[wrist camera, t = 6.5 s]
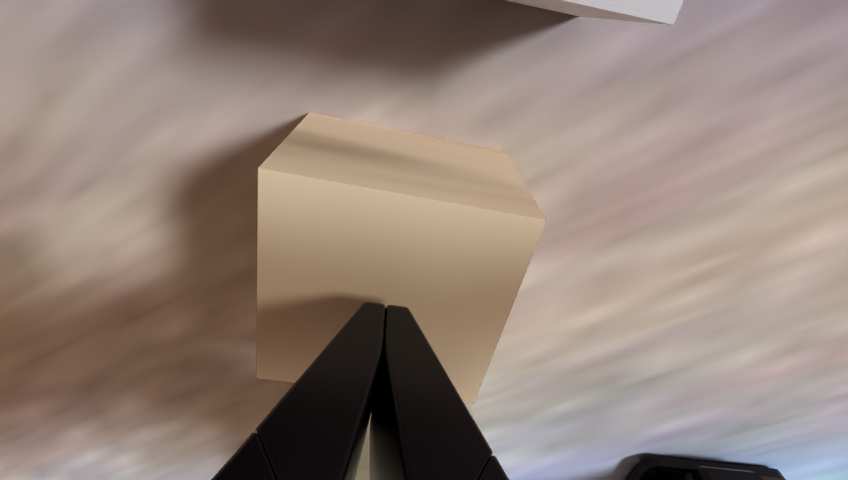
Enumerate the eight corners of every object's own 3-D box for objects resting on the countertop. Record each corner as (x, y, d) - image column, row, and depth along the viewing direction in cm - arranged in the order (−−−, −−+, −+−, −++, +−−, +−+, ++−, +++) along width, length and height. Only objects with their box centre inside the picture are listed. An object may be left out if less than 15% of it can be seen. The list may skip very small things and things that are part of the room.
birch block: (457, 299, 13) (473, 404, 10) (299, 275, 13) (256, 378, 9) (503, 149, 11) (546, 219, 7) (310, 111, 10) (258, 168, 7)
